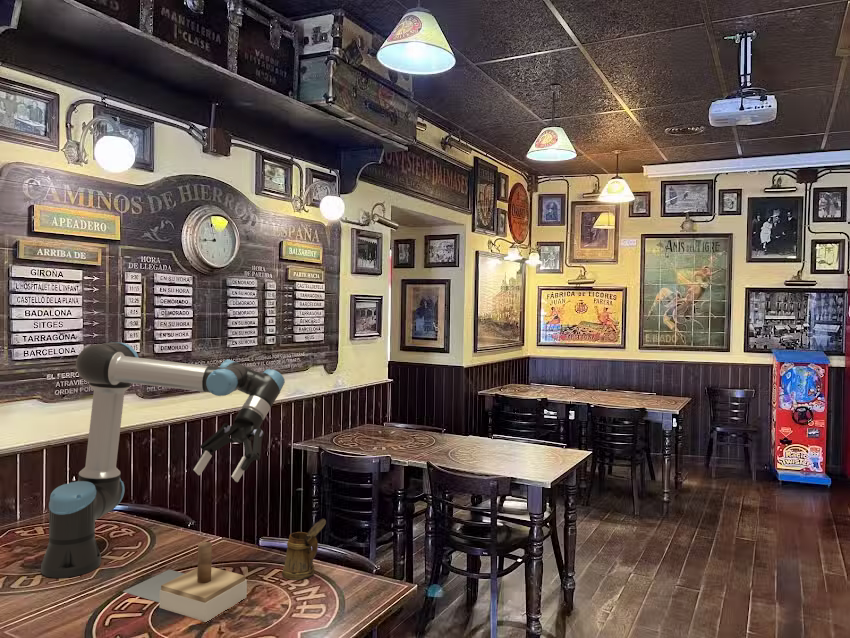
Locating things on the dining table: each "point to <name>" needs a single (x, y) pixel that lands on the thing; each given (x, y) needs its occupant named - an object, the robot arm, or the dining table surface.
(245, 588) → the wooden box
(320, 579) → the dining table surface
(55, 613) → the dining table surface
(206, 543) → the oak cover
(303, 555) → the wooden mug
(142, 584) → the rubber mat
